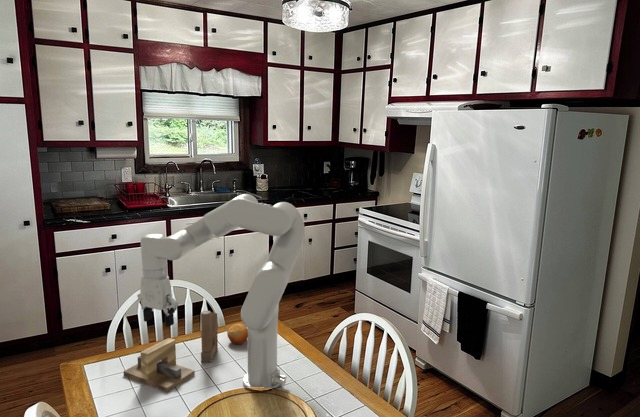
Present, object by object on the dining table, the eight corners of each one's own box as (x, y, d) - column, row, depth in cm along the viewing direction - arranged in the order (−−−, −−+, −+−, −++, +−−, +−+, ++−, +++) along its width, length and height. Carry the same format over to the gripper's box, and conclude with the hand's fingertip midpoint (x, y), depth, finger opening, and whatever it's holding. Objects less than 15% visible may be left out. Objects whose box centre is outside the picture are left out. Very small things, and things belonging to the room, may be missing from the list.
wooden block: (217, 348, 173) (217, 303, 171) (211, 362, 163) (210, 314, 160) (208, 348, 174) (207, 302, 171) (200, 362, 163) (199, 314, 160)
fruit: (255, 335, 182) (248, 322, 177) (244, 351, 177) (236, 338, 172) (240, 330, 186) (233, 317, 182) (228, 346, 181) (221, 333, 177)
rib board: (194, 374, 155) (194, 362, 154) (167, 392, 144) (166, 378, 143) (152, 360, 164) (151, 348, 163) (123, 375, 153) (123, 362, 153)
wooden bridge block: (176, 364, 158) (175, 339, 157) (148, 380, 148) (147, 354, 146) (169, 362, 160) (168, 337, 158) (141, 378, 149) (140, 352, 148)
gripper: (127, 272, 149) (131, 322, 152) (165, 279, 141) (169, 332, 144) (145, 266, 155) (149, 314, 158) (183, 273, 147) (186, 323, 150)
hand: (158, 322), depth 151 cm, fingers open, 9 cm apart
